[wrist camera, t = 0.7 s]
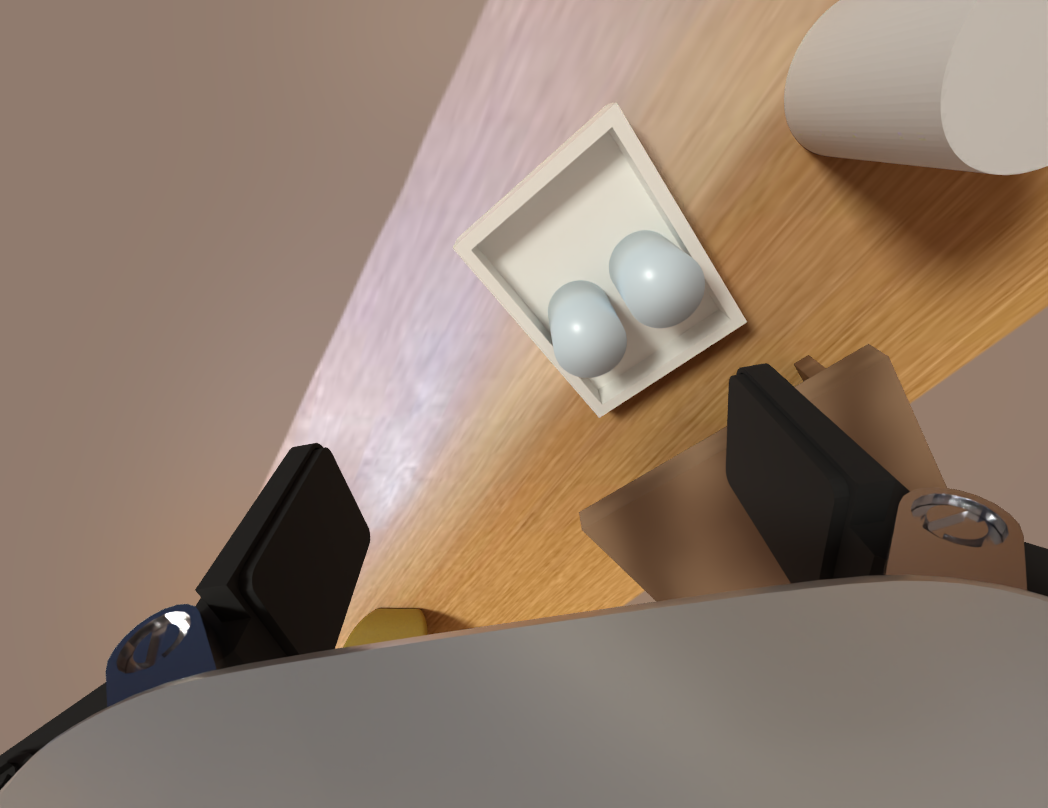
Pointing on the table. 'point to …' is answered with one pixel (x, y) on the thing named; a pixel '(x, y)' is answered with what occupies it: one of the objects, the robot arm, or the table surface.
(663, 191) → the tray
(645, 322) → the grey rounded cylinder
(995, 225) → the table surface
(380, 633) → the flower pot
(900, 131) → the white cylinder
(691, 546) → the counter
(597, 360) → the blue-grey rounded cylinder
